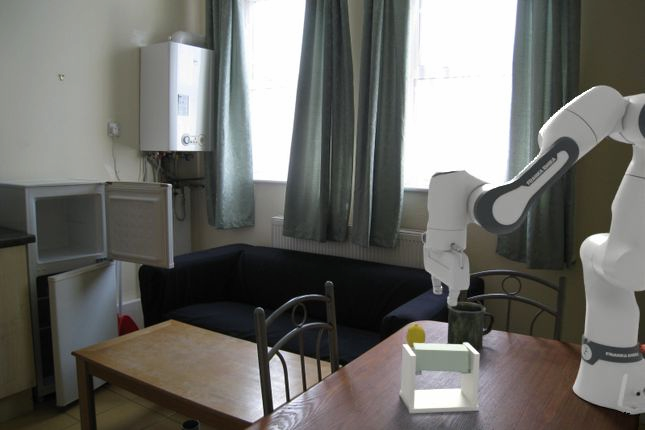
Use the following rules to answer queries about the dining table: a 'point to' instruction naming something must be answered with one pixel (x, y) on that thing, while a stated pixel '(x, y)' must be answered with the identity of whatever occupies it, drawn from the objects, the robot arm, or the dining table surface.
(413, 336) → the lemon
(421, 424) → the dining table surface
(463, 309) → the mug
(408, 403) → the shelf unit
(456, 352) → the shelf board
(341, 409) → the dining table surface
